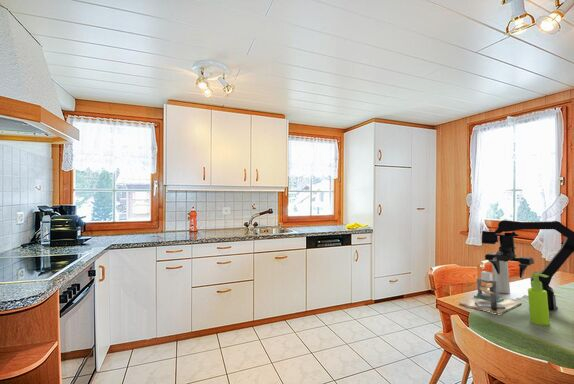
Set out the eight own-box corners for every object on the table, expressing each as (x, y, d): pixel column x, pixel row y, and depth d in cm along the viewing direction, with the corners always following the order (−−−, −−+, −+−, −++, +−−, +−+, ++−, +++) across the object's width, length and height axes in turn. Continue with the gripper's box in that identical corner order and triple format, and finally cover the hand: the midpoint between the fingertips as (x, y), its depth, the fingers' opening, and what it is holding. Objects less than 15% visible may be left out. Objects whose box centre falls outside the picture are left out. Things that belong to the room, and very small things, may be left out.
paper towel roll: (512, 294, 149) (508, 254, 151) (499, 293, 151) (495, 254, 153) (506, 290, 156) (503, 252, 158) (493, 289, 158) (490, 252, 160)
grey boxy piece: (496, 299, 136) (494, 274, 136) (477, 295, 143) (475, 271, 144) (499, 298, 138) (497, 273, 139) (480, 294, 145) (479, 270, 146)
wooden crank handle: (495, 296, 143) (494, 282, 143) (497, 311, 124) (496, 294, 125) (480, 295, 146) (479, 281, 147) (480, 308, 128) (479, 292, 128)
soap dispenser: (548, 327, 108) (543, 276, 110) (527, 321, 115) (523, 272, 116) (556, 324, 111) (551, 274, 112) (535, 318, 117) (531, 271, 118)
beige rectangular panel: (521, 304, 134) (521, 300, 134) (499, 315, 121) (498, 310, 122) (482, 295, 148) (482, 292, 148) (458, 304, 136) (458, 300, 136)
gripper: (478, 244, 143) (481, 274, 142) (523, 248, 127) (526, 282, 126) (489, 242, 149) (491, 271, 148) (532, 246, 133) (535, 278, 131)
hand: (509, 276), depth 138 cm, fingers open, 9 cm apart
